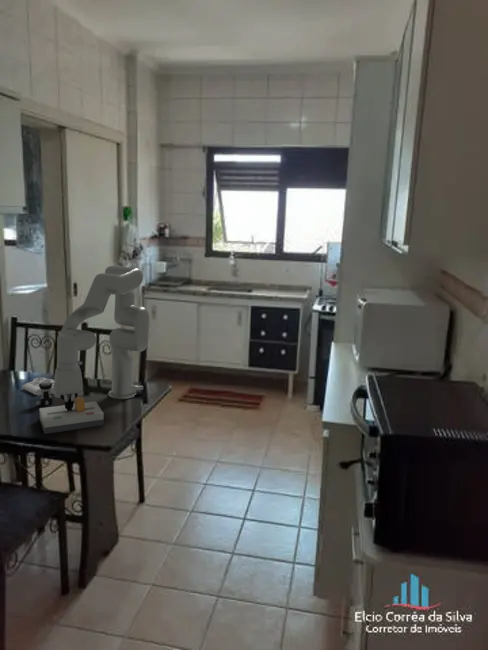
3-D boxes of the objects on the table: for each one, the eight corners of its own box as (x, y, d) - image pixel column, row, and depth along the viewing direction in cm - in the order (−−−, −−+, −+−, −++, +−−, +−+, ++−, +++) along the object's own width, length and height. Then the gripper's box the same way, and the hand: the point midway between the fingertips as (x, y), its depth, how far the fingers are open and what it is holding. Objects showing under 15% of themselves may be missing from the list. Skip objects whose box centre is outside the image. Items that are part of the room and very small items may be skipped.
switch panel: (94, 410, 213) (94, 399, 212) (103, 425, 200) (103, 412, 198) (39, 418, 203) (38, 405, 202) (44, 433, 189) (44, 421, 188)
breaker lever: (82, 411, 204) (82, 396, 203) (84, 416, 200) (84, 401, 198) (74, 412, 203) (74, 397, 201) (77, 417, 198) (76, 402, 197)
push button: (37, 407, 213) (37, 385, 211) (35, 403, 218) (34, 381, 216) (54, 405, 217) (53, 383, 215) (50, 401, 221) (50, 379, 219)
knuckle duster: (19, 388, 236) (48, 382, 247) (39, 398, 225) (68, 391, 236) (18, 382, 235) (47, 375, 246) (38, 391, 224) (68, 384, 235)
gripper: (86, 361, 202) (86, 404, 205) (46, 364, 195) (47, 409, 198) (89, 366, 195) (90, 410, 199) (49, 370, 188) (50, 415, 192)
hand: (69, 409), depth 199 cm, fingers closed
